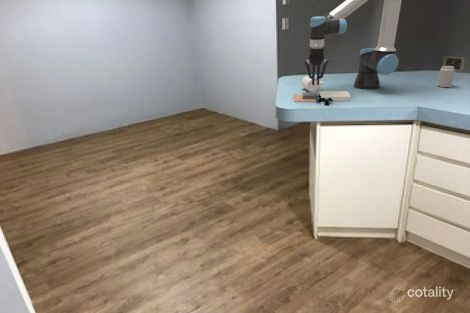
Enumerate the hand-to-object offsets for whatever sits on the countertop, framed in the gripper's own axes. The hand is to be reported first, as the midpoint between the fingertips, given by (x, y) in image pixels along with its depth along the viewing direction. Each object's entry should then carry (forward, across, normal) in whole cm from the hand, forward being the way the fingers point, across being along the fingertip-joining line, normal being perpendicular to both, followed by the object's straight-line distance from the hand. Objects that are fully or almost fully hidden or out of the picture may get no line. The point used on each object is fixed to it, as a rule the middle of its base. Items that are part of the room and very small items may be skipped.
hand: (315, 90), depth 207 cm
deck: (+5, +11, 0) cm, 12 cm away
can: (+6, +78, +24) cm, 82 cm away
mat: (+4, -5, 0) cm, 6 cm away
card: (+4, -2, 0) cm, 5 cm away
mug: (+5, +1, +20) cm, 20 cm away
